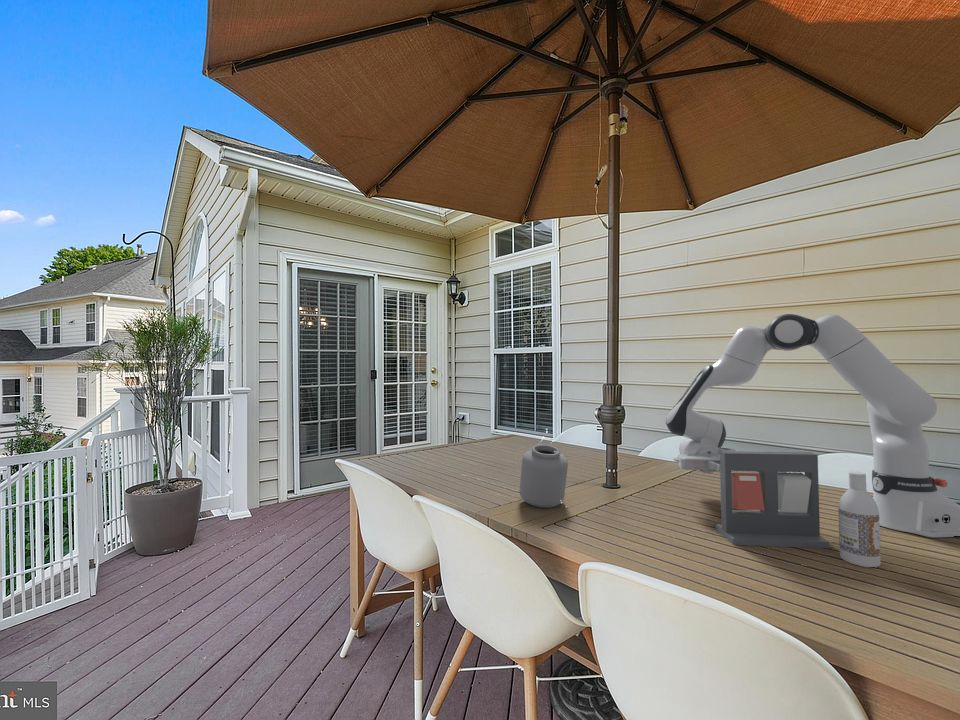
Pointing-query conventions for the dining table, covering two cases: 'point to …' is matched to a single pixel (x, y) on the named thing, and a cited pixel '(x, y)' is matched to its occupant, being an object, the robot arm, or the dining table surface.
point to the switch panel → (770, 501)
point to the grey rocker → (793, 492)
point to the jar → (543, 476)
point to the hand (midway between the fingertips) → (724, 468)
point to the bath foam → (859, 524)
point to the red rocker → (746, 491)
